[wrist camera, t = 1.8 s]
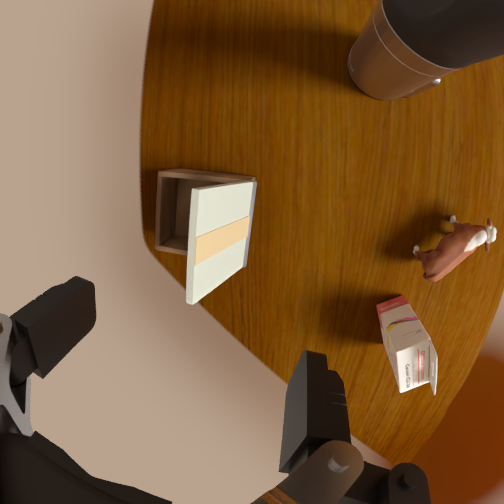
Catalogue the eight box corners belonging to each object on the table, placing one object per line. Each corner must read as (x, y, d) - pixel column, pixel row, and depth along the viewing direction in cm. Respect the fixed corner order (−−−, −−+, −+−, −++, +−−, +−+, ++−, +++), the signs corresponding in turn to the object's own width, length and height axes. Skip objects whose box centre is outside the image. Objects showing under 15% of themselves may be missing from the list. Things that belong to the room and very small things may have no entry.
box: (255, 176, 37) (248, 180, 31) (246, 248, 40) (238, 264, 35) (177, 168, 38) (158, 171, 32) (172, 236, 41) (155, 249, 36)
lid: (250, 180, 32) (258, 181, 31) (240, 263, 35) (247, 265, 35) (191, 188, 21) (202, 190, 21) (186, 302, 25) (195, 305, 25)
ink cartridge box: (373, 304, 40) (401, 367, 27) (403, 293, 39) (440, 351, 25) (382, 345, 43) (404, 409, 29) (408, 335, 41) (438, 396, 28)
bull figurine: (477, 225, 34) (506, 240, 26) (413, 270, 38) (435, 295, 30) (468, 201, 33) (499, 212, 25) (402, 247, 37) (425, 269, 29)
